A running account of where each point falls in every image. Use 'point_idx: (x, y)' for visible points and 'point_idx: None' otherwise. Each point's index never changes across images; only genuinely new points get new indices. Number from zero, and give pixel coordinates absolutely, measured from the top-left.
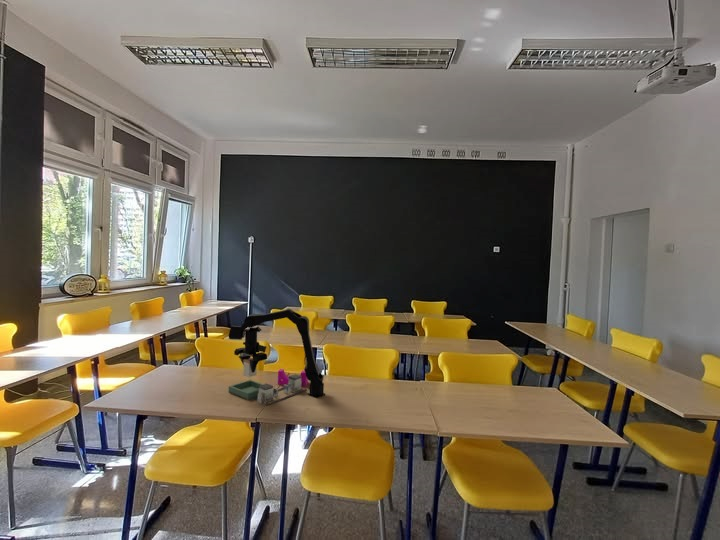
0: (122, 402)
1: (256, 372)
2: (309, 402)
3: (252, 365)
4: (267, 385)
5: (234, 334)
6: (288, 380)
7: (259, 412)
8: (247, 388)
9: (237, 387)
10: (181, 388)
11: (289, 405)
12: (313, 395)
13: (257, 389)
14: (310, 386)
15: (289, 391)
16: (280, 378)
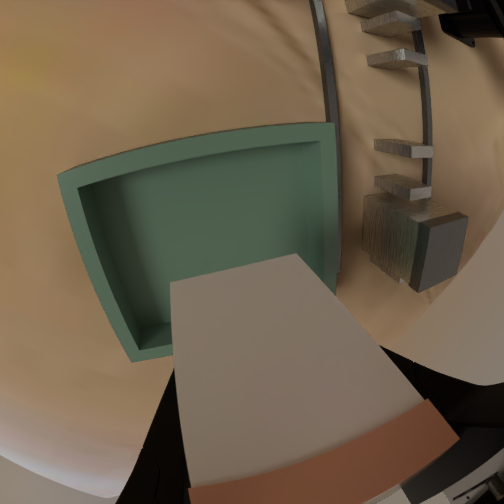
0: (108, 487)
1: (312, 271)
2: (482, 98)
3: None
4: (449, 243)
5: None
6: None
7: (426, 291)
8: (149, 226)
9: (123, 296)
10: (31, 423)
11: (464, 170)
12: (463, 37)
13: (221, 170)
14: (471, 16)
15: (377, 34)
16: None
